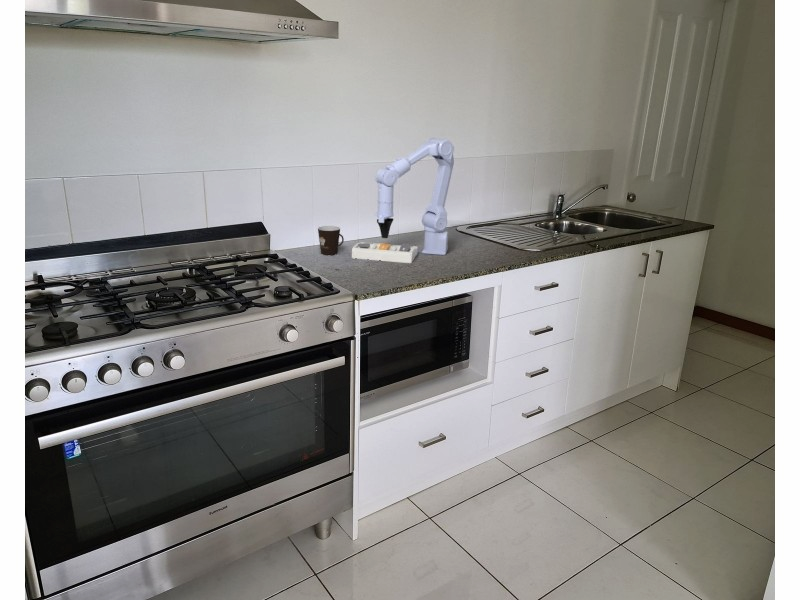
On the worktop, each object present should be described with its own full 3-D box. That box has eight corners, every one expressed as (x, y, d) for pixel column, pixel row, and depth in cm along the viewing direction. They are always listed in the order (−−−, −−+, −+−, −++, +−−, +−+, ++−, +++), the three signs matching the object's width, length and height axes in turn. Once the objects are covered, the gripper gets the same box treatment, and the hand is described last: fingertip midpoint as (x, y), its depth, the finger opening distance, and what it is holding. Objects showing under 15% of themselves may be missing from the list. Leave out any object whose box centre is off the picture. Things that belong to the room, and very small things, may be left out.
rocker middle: (389, 247, 223) (389, 243, 222) (386, 252, 217) (386, 247, 217) (381, 246, 223) (381, 242, 223) (378, 251, 218) (378, 247, 217)
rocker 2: (410, 247, 221) (410, 243, 220) (407, 254, 216) (407, 250, 215) (402, 247, 222) (402, 243, 221) (399, 254, 217) (398, 250, 216)
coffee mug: (315, 251, 227) (315, 226, 223) (336, 249, 230) (336, 225, 227) (323, 259, 217) (323, 233, 213) (345, 257, 220) (345, 231, 217)
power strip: (417, 253, 228) (417, 244, 227) (411, 263, 215) (411, 252, 214) (361, 249, 232) (361, 239, 231) (351, 258, 219) (351, 248, 218)
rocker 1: (369, 248, 224) (369, 243, 224) (365, 248, 218) (366, 244, 218) (361, 247, 224) (361, 243, 224) (357, 247, 219) (357, 243, 218)
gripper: (379, 198, 221) (378, 232, 225) (370, 204, 207) (370, 241, 212) (397, 199, 220) (396, 234, 224) (389, 205, 206) (388, 242, 211)
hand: (384, 237), depth 218 cm, fingers closed
